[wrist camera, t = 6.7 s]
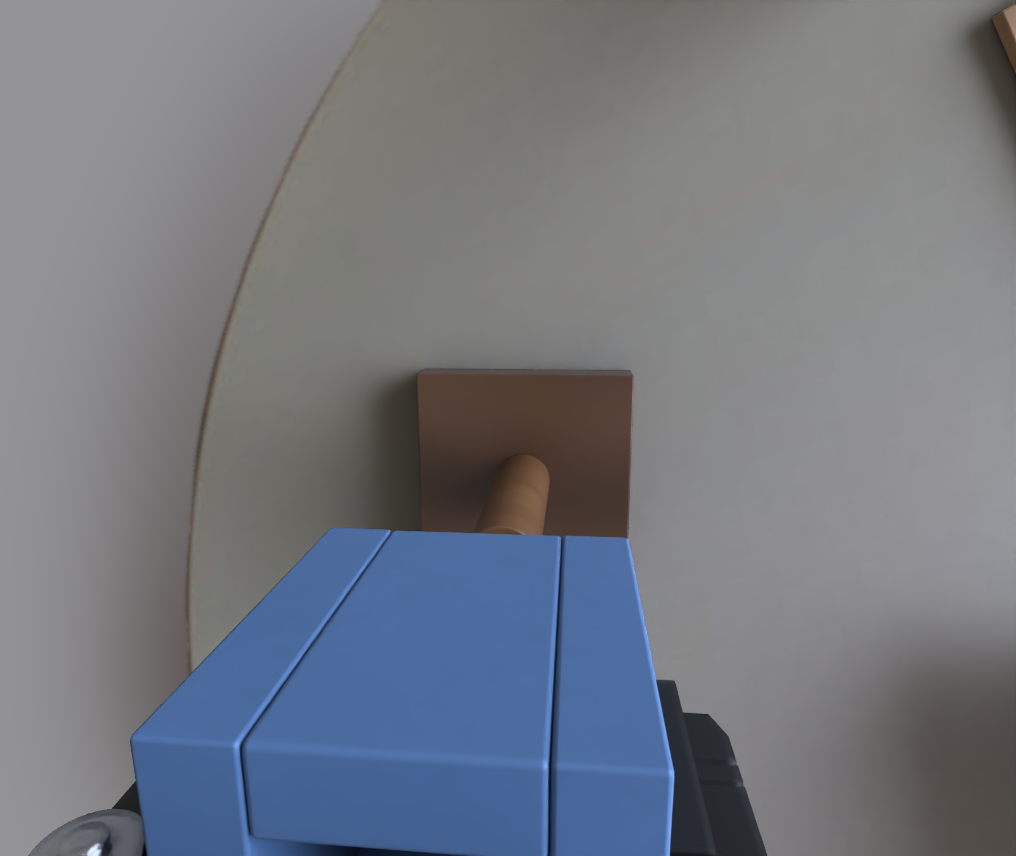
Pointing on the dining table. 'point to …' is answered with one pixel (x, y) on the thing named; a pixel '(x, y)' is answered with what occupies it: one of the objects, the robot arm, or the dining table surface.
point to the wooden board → (1007, 31)
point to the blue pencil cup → (421, 709)
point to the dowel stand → (525, 451)
